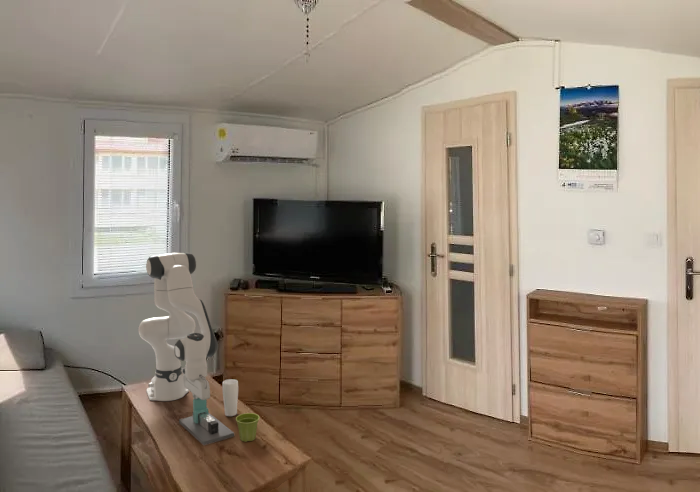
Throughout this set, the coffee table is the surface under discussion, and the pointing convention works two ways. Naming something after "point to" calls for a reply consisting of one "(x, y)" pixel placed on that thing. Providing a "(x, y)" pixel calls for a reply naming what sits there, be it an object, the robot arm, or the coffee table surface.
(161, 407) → the coffee table surface
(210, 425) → the jaw
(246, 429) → the plant pot
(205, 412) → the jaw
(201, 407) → the collar
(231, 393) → the white cup
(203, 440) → the plate
